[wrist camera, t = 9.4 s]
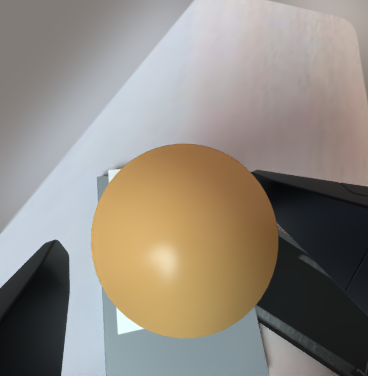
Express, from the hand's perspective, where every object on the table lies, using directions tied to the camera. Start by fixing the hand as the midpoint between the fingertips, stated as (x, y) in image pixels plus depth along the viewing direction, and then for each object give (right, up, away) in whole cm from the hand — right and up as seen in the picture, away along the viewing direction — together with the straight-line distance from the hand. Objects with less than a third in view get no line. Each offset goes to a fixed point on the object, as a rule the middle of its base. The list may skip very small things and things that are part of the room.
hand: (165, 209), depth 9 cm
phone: (+12, -9, +9) cm, 17 cm away
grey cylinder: (-1, -3, +8) cm, 8 cm away
